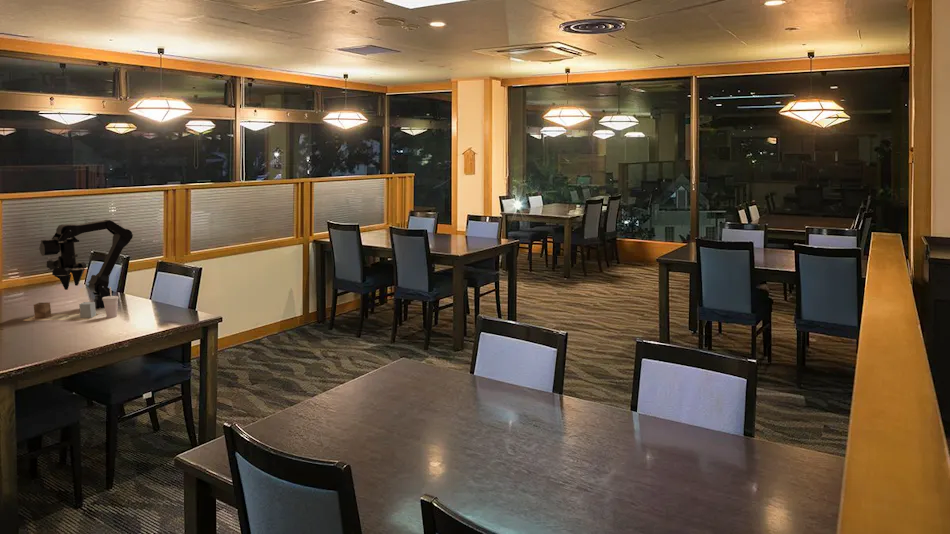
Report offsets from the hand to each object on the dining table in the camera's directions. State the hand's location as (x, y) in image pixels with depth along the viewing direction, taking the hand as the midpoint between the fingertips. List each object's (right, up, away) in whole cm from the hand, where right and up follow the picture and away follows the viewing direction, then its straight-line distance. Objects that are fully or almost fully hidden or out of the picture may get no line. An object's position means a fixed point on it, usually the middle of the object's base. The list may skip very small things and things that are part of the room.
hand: (71, 287), depth 320 cm
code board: (+1, -13, -9) cm, 16 cm away
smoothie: (+22, -14, -8) cm, 28 cm away
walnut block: (-7, -13, -10) cm, 17 cm away
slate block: (+12, -12, -9) cm, 19 cm away
